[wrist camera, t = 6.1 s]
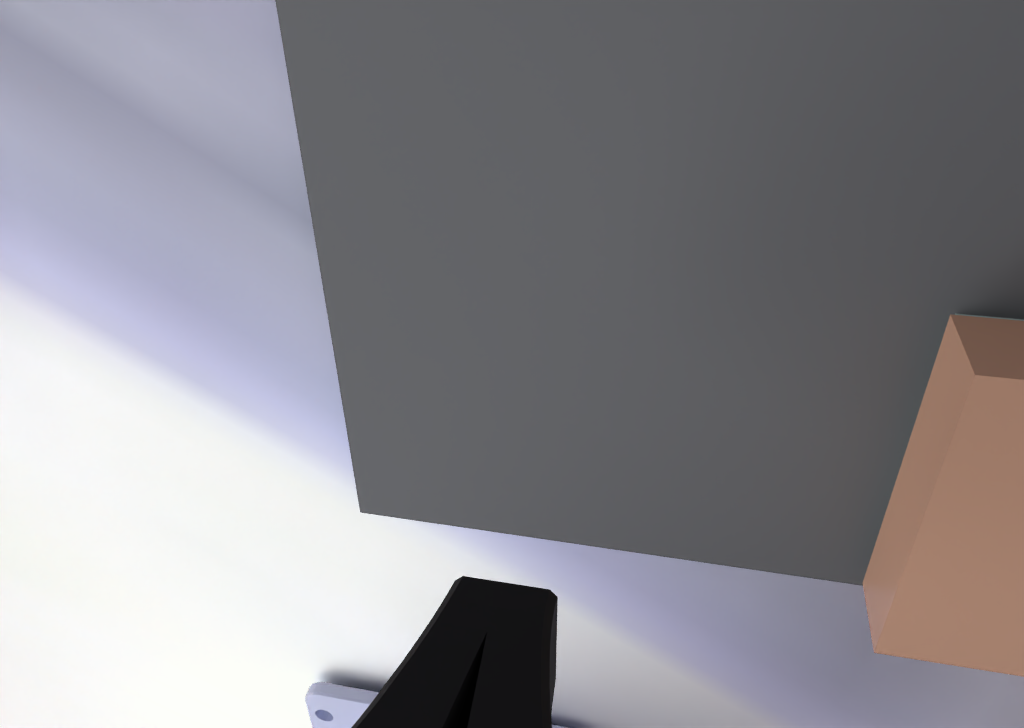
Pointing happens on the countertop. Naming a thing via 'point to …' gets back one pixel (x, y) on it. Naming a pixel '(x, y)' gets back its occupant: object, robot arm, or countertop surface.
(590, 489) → the mat
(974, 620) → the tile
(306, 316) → the countertop surface
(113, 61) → the countertop surface
